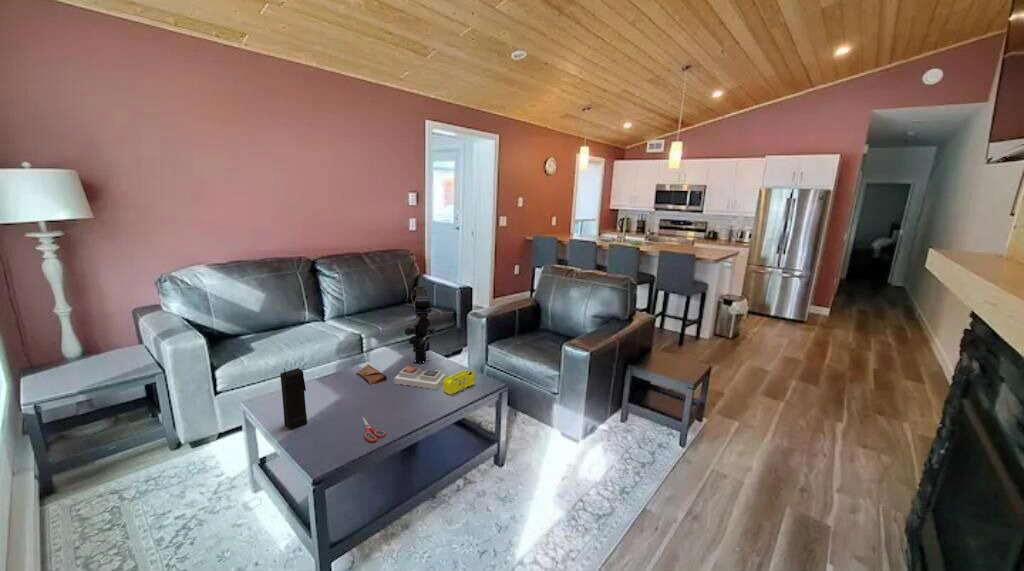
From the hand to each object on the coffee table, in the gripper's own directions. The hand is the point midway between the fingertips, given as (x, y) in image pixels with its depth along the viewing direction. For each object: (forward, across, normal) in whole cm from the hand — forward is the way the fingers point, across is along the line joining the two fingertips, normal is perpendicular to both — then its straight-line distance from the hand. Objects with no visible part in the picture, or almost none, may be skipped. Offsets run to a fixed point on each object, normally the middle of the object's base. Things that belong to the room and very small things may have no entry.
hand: (422, 351), depth 213 cm
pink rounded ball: (+8, +9, -2) cm, 12 cm away
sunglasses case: (+13, +12, -23) cm, 29 cm away
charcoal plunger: (+9, +9, +8) cm, 15 cm away
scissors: (+13, +53, +1) cm, 55 cm away
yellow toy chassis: (+12, +10, +24) cm, 29 cm away
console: (+12, +9, +3) cm, 15 cm away
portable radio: (+12, +58, -27) cm, 65 cm away
